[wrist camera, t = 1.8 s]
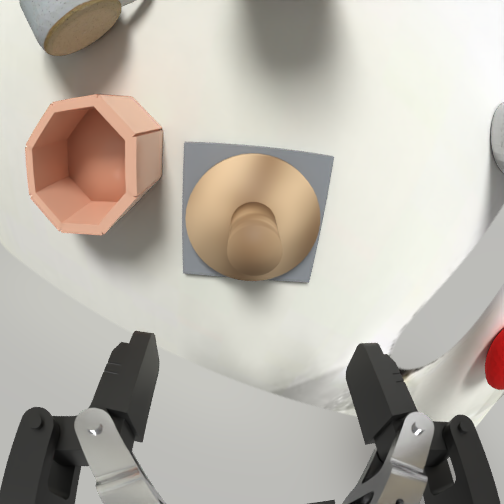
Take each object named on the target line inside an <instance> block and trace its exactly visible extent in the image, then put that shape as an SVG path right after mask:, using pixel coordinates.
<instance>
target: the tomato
mask: <svg viewBox="0 0 504 504" xmlns="http://www.w3.org/2000/svg"><path fill="white" fill-rule="evenodd" d="M485 374H486V379H487V382H488V384H489V385H490V386H492V387H493V388H495V389H498V390H503V389H504V329H503V330H502V331H501V332H500V333H499V334H498V335H497V336H496V338H495V339H494V341H493V342H492V344H491V346H490V348H489V351H488V353H487V357H486V362H485Z"/></svg>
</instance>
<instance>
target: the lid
mask: <svg viewBox="0 0 504 504" xmlns="http://www.w3.org/2000/svg"><path fill="white" fill-rule="evenodd" d="M185 219H186V229H187V234H188V237H189V240H190V242H191V244H192V246H193V248H194V250H195V251H196V253H197V254H198V256H199V257H200V258H201V259H202V260H203V261H204V262H205V263H206V264H207V265H208V266H209V267H211V268H212V269H214V270H215V271H217V272H219V273H221V274H223V275H225V276H228V277H230V278H234V279H238V280H245V281H260V280H267V279H271V278H274V277H277V276H280V275H282V274H284V273H286V272H288V271H290V270H291V269H293V268H294V267H296V266H297V265H298V264H299V263H300V262H301V261H302V260H303V259H304V258H305V257H306V256H307V255H308V253H309V252H310V251H311V249H312V247H313V245H314V243H315V241H316V239H317V236H318V232H319V228H320V208H319V203H318V200H317V196H316V194H315V192H314V190H313V188H312V187H311V185H310V184H309V182H308V181H307V180H306V178H305V177H304V176H303V175H302V174H301V173H300V172H299V171H298V170H297V169H296V168H295V167H293V166H292V165H290V164H289V163H287V162H286V161H284V160H282V159H279V158H277V157H274V156H271V155H266V154H260V153H247V154H240V155H236V156H232V157H229V158H227V159H224V160H222V161H221V162H219V163H217V164H215V165H214V166H213V167H211V168H210V169H209V170H208V171H207V172H206V173H205V174H204V175H203V176H202V177H201V179H200V180H199V181H198V183H197V184H196V186H195V187H194V189H193V191H192V193H191V195H190V197H189V200H188V204H187V208H186V217H185Z"/></svg>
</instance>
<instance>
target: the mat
mask: <svg viewBox="0 0 504 504" xmlns="http://www.w3.org/2000/svg"><path fill="white" fill-rule="evenodd" d="M247 153H260V154H266V155H271V156H274V157H277V158H279V159H282V160H284V161H286V162H287V163H289V164H290V165H292V166H293V167H295V168H296V169H297V170H298V171H299V172H300V173H301V174H302V175H303V176H304V177H305V178H306V180H307V181H308V182H309V184H310V185H311V187H312V188H313V190H314V192H315V194H316V196H317V200H318V203H319V208H320V228H319V232H318V236H317V239H316V241H315V243H314V245H313V247H312V249H311V251H310V252H309V253H308V255H307V256H306V257H305V258H304V259H303V260H302V261H301V262H300V263H299V264H298V265H297V266H296V267H294V268H293V269H291V270H290V271H288V272H286V273H284V274H282V275H280V276H277V277H274V278H271V279H267V280H278V281H294V282H309V280H310V276H311V272H312V267H313V263H314V258H315V254H316V249H317V245H318V240H319V235H320V230H321V225H322V220H323V215H324V210H325V205H326V200H327V194H328V189H329V183H330V177H331V172H332V166H333V159H334V157H333V156H328V155H322V154H316V153H309V152H302V151H295V150H287V149H279V148H270V147H260V146H249V145H237V144H223V143H205V142H185V143H184V163H183V205H182V239H183V273H187V274H198V275H210V276H223V277H228V276H225V275H223V274H221V273H219V272H217V271H215V270H214V269H212V268H211V267H209V266H208V265H207V264H206V263H205V262H204V261H203V260H202V259H201V258H200V257H199V256H198V254H197V253H196V251H195V250H194V248H193V246H192V244H191V242H190V240H189V237H188V234H187V229H186V219H185V217H186V208H187V204H188V200H189V197H190V195H191V193H192V191H193V189H194V187H195V186H196V184H197V183H198V181H199V180H200V179H201V177H202V176H203V175H204V174H205V173H206V172H207V171H208V170H209V169H210V168H211V167H213V166H214V165H215V164H217V163H219V162H221V161H222V160H224V159H227V158H229V157H232V156H236V155H240V154H247Z"/></svg>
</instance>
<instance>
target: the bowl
mask: <svg viewBox="0 0 504 504" xmlns="http://www.w3.org/2000/svg"><path fill="white" fill-rule="evenodd" d="M161 129H162V127H161V126H160V125H159V124H158V123H157V122H156V121H155V120H154V119H153V118H152V117H151V116H150V114H149V113H148V112H147V111H146V110H145V109H144V108H143V107H142V106H141V105H140V104H139V103H138V102H137V101H136V100H135V99H134V98H133V97H131V96H119V95H103V94H95V95H88V96H82V97H76V98H71V99H66V100H61V101H56V102H53V104H50V105H49V107H48V108H47V110H46V112H45V113H44V115H43V116H42V118H41V119H40V121H39V123H38V124H37V126H36V128H35V129H34V131H33V133H32V134H31V136H30V138H29V140H28V142H27V143H26V146H27V147H25V153H26V168H27V179H28V188H29V195H32V196H31V199H32V200H33V202H34V203H35V204H36V205H37V206H38V208H39V209H40V210H41V211H42V212H43V213H44V215H45V216H46V217H47V218H48V219H49V220H50V221H51V223H52V224H53V225H54V226H55V227H56V228H57V229H58V230H59V231H61V232H62V233H75V234H90V235H103V234H105V233H106V232H107V231H108V230H109V229H110V228H111V227H112V226H113V225H114V224H115V223H116V222H117V221H118V220H119V219H120V218H121V217H123V216H124V215H125V214H126V213H127V212H128V211H129V210H130V209H131V208H132V207H133V206H134V205H135V204H136V203H137V202H138V201H139V200H140V199H141V198H142V197H143V196H144V194H145V193H146V192H147V191H148V190H149V189H150V188H151V187H152V186H153V185H154V184H155V183H156V182H157V181H158V180H159V179H160V177H161V176H162V143H163V130H161Z"/></svg>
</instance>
